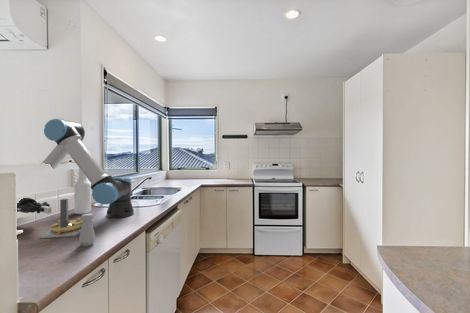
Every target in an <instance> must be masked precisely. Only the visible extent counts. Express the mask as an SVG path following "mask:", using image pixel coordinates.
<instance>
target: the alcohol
mask: <svg viewBox="0 0 470 313" xmlns="http://www.w3.org/2000/svg"><path fill="white" fill-rule="evenodd" d="M78 169H79V170H78V179H77V180H76V181H75V183H74V192H73V193H74V195H73V197H74V198H73V200H74V201H73V202H74V204H73V206H74V208H73V213H74V214H75V215H83V214H88V213H91V211H92V189H91V187H90V186H91V182H90V181H89V180H88V178H87V177H86V176H85V174H84V173H83V172H82V170H81V169H80V168H79V167H78Z"/></svg>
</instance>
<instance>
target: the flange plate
mask: <svg viewBox="0 0 470 313" xmlns="http://www.w3.org/2000/svg"><path fill="white" fill-rule="evenodd" d="M80 232H81V228H80V229H77V230H73V231H68V232H51V229H49V230H48V231H46V232H44V233H43V234H41V235H39V239H49V238H50V239H51V238H52V239H53V238H64V237H66V238H67V237H77V236H78V235H80Z"/></svg>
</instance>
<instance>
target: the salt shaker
mask: <svg viewBox="0 0 470 313" xmlns="http://www.w3.org/2000/svg"><path fill="white" fill-rule="evenodd" d="M80 218H81V220H82V221H83V222H82V227H81V232H80V233H79V238H78V243H79V245H80V247H82V248H86V247H91V246H93V245H94V242H95V240H96V234H95V230H94V226H93V222H92V220H93V219H94V214H93V213H91V212H89V213H87V214H81V216H80Z"/></svg>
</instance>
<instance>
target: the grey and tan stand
mask: <svg viewBox="0 0 470 313" xmlns="http://www.w3.org/2000/svg"><path fill="white" fill-rule="evenodd" d="M59 207H60V208H59V209H60V210H59V211H60V213H59V215H60V217H59V219H58V220H57V222H55V223H53V224H51V225H50V230H51V232H68V231H73V230H77V229H80V228H81V227H82V222H83V221H82V220H81V217H78V218H76V219H69V198H61V199H60V206H59Z"/></svg>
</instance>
